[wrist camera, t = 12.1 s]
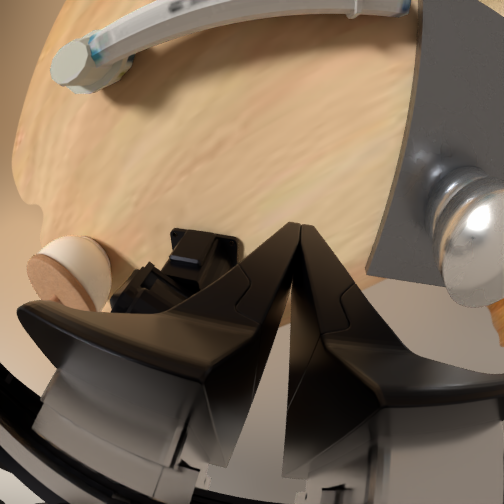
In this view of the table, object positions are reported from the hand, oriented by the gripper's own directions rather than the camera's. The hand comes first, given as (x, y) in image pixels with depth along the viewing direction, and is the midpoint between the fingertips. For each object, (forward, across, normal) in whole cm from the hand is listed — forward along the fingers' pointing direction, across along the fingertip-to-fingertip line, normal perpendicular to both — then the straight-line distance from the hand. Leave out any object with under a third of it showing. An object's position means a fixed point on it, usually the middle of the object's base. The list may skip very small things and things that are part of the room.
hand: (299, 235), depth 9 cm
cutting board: (+12, -18, -3) cm, 22 cm away
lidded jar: (+12, +24, +15) cm, 31 cm away
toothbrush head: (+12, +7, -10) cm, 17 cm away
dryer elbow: (+8, -18, +2) cm, 20 cm away
